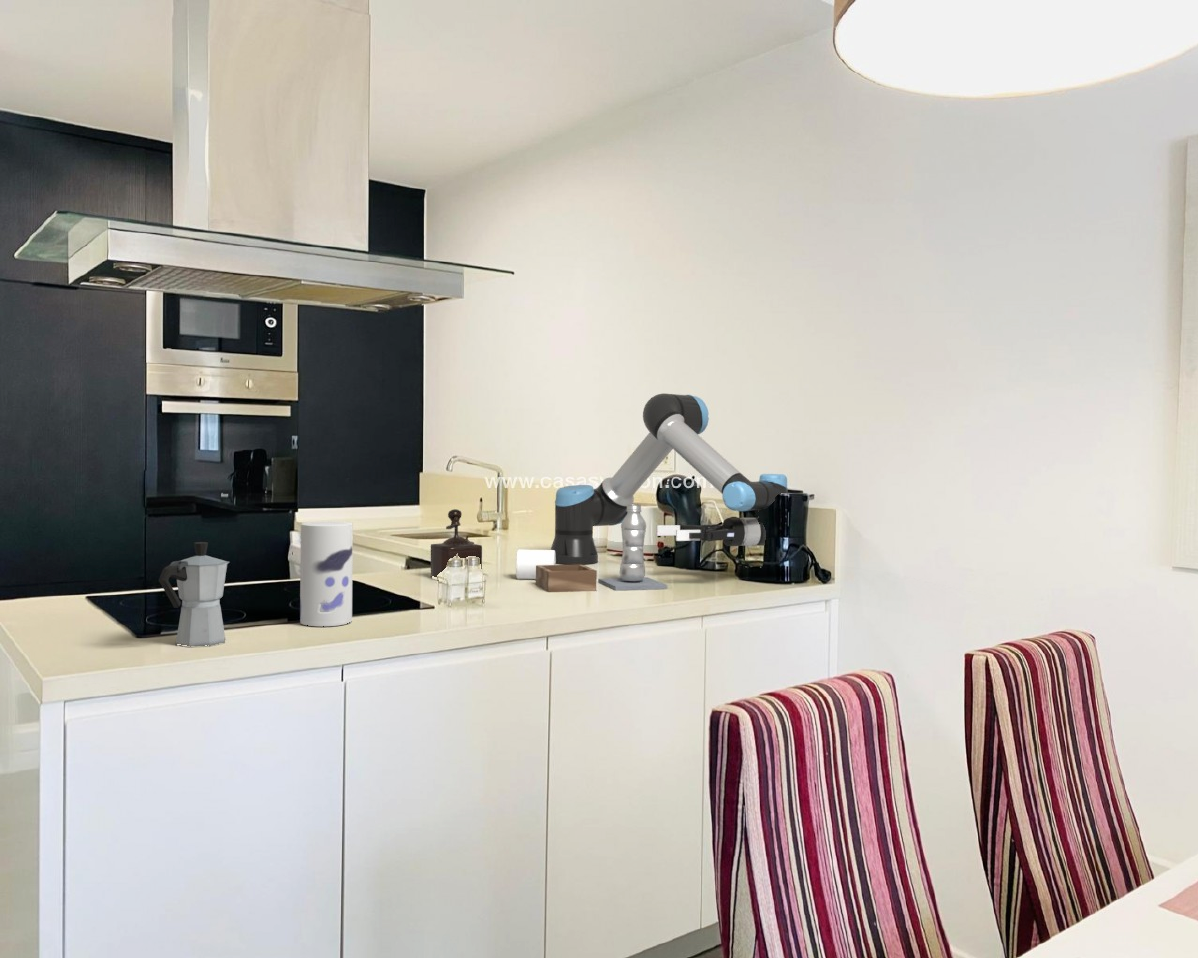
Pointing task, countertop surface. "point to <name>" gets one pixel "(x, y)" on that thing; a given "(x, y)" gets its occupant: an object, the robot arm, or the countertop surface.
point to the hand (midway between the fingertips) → (666, 532)
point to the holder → (566, 578)
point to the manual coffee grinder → (452, 547)
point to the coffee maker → (197, 597)
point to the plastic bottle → (633, 545)
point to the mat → (632, 584)
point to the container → (326, 573)
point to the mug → (532, 562)
